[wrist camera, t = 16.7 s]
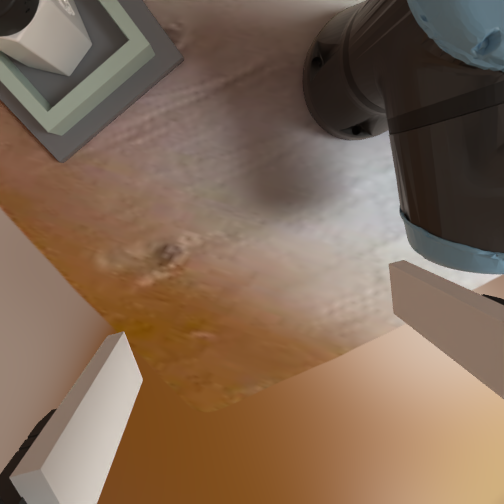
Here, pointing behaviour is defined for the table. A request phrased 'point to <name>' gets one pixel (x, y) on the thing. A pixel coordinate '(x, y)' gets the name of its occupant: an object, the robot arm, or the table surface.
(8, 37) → the jar
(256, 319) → the table surface
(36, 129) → the green and grey tray
